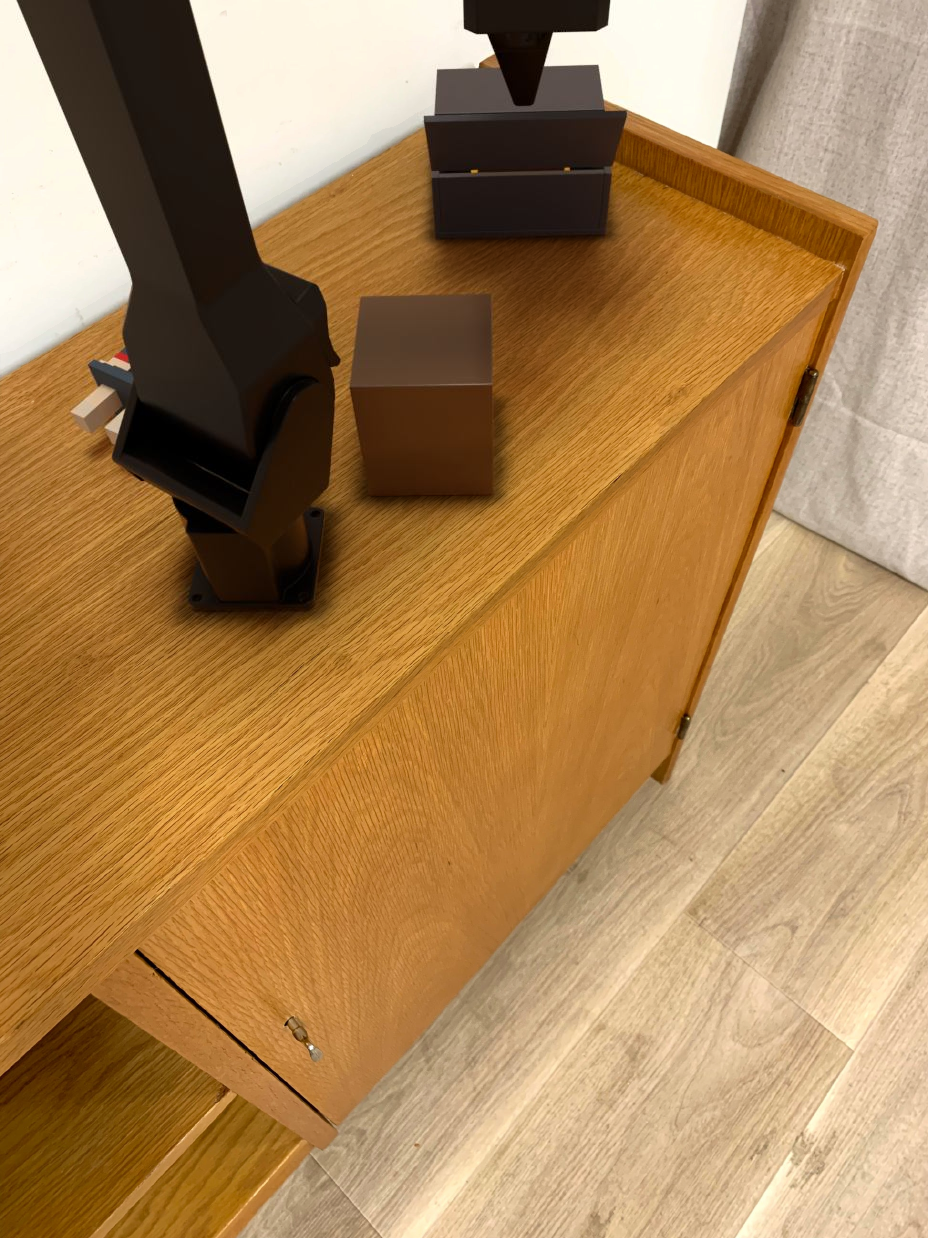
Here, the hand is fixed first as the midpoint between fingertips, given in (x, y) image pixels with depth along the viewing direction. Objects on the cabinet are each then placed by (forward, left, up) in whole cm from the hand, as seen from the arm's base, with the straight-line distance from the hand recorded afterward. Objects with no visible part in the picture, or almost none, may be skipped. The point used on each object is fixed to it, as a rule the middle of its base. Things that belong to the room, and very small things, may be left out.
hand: (523, 102), depth 49 cm
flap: (+5, 0, -5) cm, 6 cm away
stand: (-14, +5, -12) cm, 19 cm away
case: (+13, 0, -12) cm, 18 cm away
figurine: (-8, +20, -13) cm, 25 cm away
